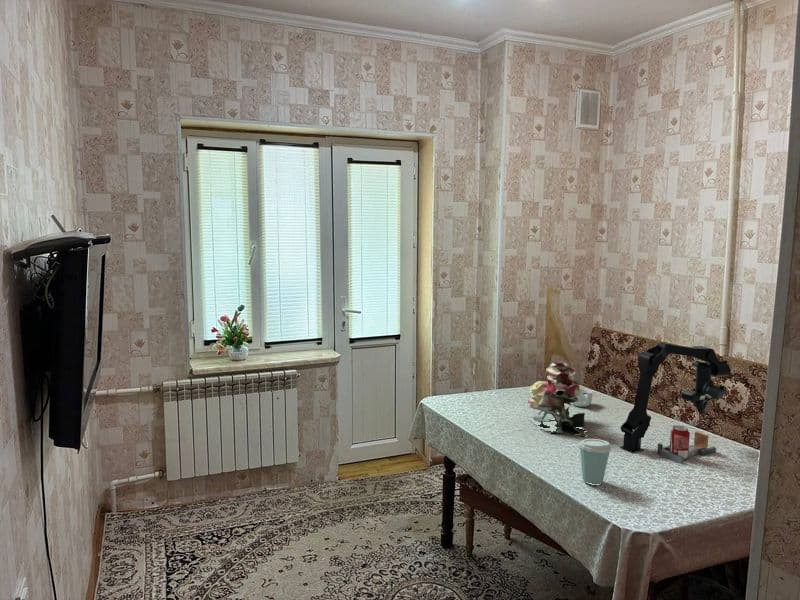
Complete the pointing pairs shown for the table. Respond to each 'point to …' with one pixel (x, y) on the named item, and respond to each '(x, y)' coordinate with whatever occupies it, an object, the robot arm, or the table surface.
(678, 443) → the soda can
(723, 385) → the robot arm
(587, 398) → the teacup
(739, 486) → the table surface
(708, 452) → the ram guide
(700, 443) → the brown boxy piece
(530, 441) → the table surface
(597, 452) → the disposable coffee cup
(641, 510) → the table surface
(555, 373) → the rose bouquet
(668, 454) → the press fence
